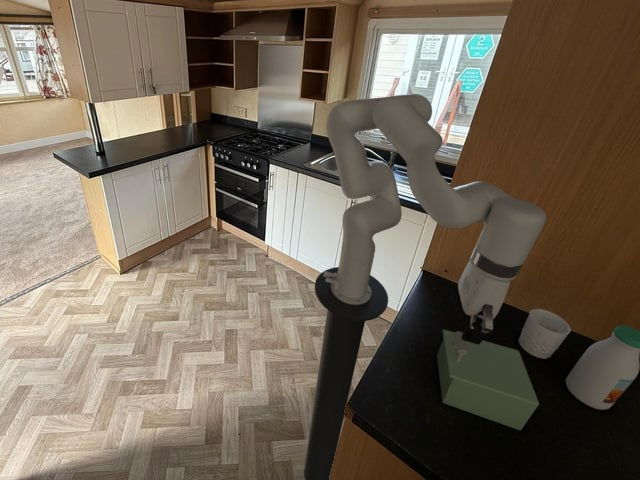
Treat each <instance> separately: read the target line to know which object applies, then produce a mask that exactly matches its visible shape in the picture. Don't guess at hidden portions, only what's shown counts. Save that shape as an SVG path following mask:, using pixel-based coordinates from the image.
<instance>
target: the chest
mask: <svg viewBox="0 0 640 480" xmlns="http://www.w3.org/2000/svg"><path fill="white" fill-rule="evenodd" d="M436 361H437V368H438V369H437V370H438V376H439V377H438V378H439V386H440V394H441V402H442V404H445V405H448V406H451V407H453V408H456V409H459V410H461V411H463V412H464V411H465V412H467V413H470V414H473V415H475V416H478V417H481V418H484V419H487V420H489V421H492V422H495V423H497V424H501V425H503V426H505V427H509V428H512V429H514V430H516V431H520V432H521V431H522V430H523V428H524V426H525V425H526V424H527V423H528V421H529V419H530V418H531V416H532V415H533V413H534V412H535V411H536V409H537V408H538V406H537V405H534V404H531V403H528V402H525V401H522V400H519V399H516V398H513V397H510V396H506V395H503V394H500V393H497V392H494V391H491V390H488V389H485V388H482V387H479V386H476V385H473V384H470V383H467V382H464V381H461V380H458V379H455V378H452V377H449V371H448V364H447V357H446V351H445V344H444V338H443V339H442V342H441V344H440V346H439V349H438V352H437V353H436Z"/></svg>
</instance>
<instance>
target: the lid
mask: <svg viewBox="0 0 640 480" xmlns="http://www.w3.org/2000/svg"><path fill="white" fill-rule="evenodd" d="M442 335H443V336H442V338H443V339H444V344H445V351H446V357H447V364H448V371H449V377H452V378H455V379H458V380H461V381H464V382H467V383H470V384H473V385H476V386H479V387H482V388H485V389H488V390H491V391H494V392H497V393H500V394H503V395H506V396H510V397H513V398H516V399H519V400H522V401H525V402H528V403H531V404H534V405H537V407H538V406H539V405H540V403H539V400H538V397H537V395H536V392H535V389H534V387H533V384H532V382H531V379H530V377H529V374H528V371H527V369H526V365H525V363H524V361H523V358H522V355H521V353H520V351H519V350H518V349H514V348H511V347H508V346H504V345H500V344H497V343H493V342H489V341H486V340H482V342H481V343H480V345H477V344H474V343H471V342H467V341H464V340H462V335H463V331H461V330H460V331H459V330H458V331H455V332H454V331H451V330H447V329H445V328H444V329H442Z"/></svg>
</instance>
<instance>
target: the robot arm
mask: <svg viewBox="0 0 640 480" xmlns="http://www.w3.org/2000/svg"><path fill="white" fill-rule="evenodd" d="M432 116H433V106H432V104H431V102H430V100H429V99H428V98H427V97H425V96H424V95H422V94H419V93H407V94H397V95H396V94H395V95H390V96H383V97H371V98H362V99H361V98H359V99H350V100H346V101H342V102H340V103H338V104H337V105H336V104H335V106H333V107H332V108H331V110H330V111H329V113H328V116H327V118H326V123H325V124H326V125H325V126H326V134H327V138H328V140H329V141H328V142H329V143H330V146H331V149H332V151H333V154H334V158H335V164H336V168H337V169H336V170H337V174H338V178H339V184H340V187H341V191H342V193H343V195H344V196H345V197H346V198H348V199H350V200H357V199H362V198H367V197H370V198H371V199H370V200H365V201H361V202H359V203H356V204H352V205H350V206H349V207H347V209H346V210H344V212H343V214H342V241H341V251H340V256H339V263H338V267H339V269H338V271H337V273H334V274H333V273H330V272H327V271H325V270H324V271H323V272H324V274H323V277H326V281H325V282H330V283H331V290H332V293H333V294H334V295H335V296H336V297H337V298H338V299H339V300H341V301H343V302H345V303H348V304H352V305H360V304H364V303H366V302H368V301H369V300H370V298H371V293H372V291H371V288H370V286H369V285H368V282H369V278H370V275H371V273H372V268H373V265H374V259H375V253H376V243H375V242H374V236H375V235H376V234H379V233H381V232H384V231H387V230H389V229H393V228H395V227H396V226H397V225H399V224H400V223H401V220H402V215H403V214H402V213H403V212H402V204H401V201H400V195H399V191H398V184H397V180H396V176H395V173H394V171H393V170H392V168H391V167H390V165H388V164H387V163H385V162H384V161H380V160H374V161H369V160H368V155H367V150H366V147H365V145H364V143H363V142H362V141H361V139H360V138H359V137H358V136H357V135H356V134H357V133H359V132H367V131H373V130H379V131H380V133H381V134H382V135H383V136H384V137H385V139H386V140H387V141H388V142H389V144H391V146H392V147H393V148H394V149H395V150H396V151H397V153H398V154H399V155H400V157H401V158H402V159H403V160H404V162H405V163H406V175H407V176H406V177H407V181H408V185H409V189H410V190H411V191H410V192H411V193H412V195H413V197H414V199H415V200H416V202H418V204H419V205H420V206H421V207H422V209H423V210H424V211H425V212H426V214H427V215H428V216H429V217H430V218H431V219H432V220H433V221H434V222H435V223H436V224H438V225H440V226H441V227H442V228H443V227H444V228H446V229H448V230H449V229H450V230H459V229H463V228H466V227H468V226H472V225H474V224H476V223H483V224H484V225H483V228H482V229H481V232H480V235H479V237H478V239H477V242H476V244H475V247H474V249H473V251H472V253H471V255H470V258H469V261H468V262H467V264H466V266H465V267H464V270H463V272H462V274H461V276H460V278H459V280H458V282H457V289H458V294H457V296H456V297H455V300H454V305H455V307H460V308H462V310H463V312H464V314H465V315H467V316H470V320H469V323H468V324H466V326H465V328H464V331H462V333H463V335H462V340H464V341H467V342H471V343H474V344H477V345H480V343H481V342H482V340H483V339H484V338H485V336H486V335H489V334H490V333H491V332H493V331H494V319H495V318H496V317H497V316H498V314H499V312H500V310H501V308H502V306H503V304H504V301H505V298H506V296H507V293H508V292H509V288H510V285H511V281H513V280H515V279H516V278H517V277H518V275H519V273H520V271H521V270H522V267H523V266H524V264H525V261H526V260H527V258H528V256H529V254H530V252H531V250H532V249H533V247H534V245H535V243H536V241H537V239H538V237H539V236H540V233H542V230H543V228H544V226H545V224H546V221H547V214H546V211H544V210H543V209H542V208H541V207H540V206H538V205H537V204H534V203H532V202H529V201H527V200H523V199H519V198H516V197H514V196H512V195H510V194H509V193H507V192H505V191H504V190H502V189H500V188H499V187H497V186H496V185H493V184H492V183H489V182H486V181H473V182H470V183H466V184H462V185H459V186H455V187H452V186H451V184H450V183H449V182H448V181H447V180H446V179H445V178H444V176H443V175H442V174H441V172H440V171H439V169H438V166H437V164H436V160H435V159H436V154H437V153H438V152H439V150H440V149H441V148H442V146H443V143H444V140H443V137H442V135H441V134H440V133H439V132H438V131H437V130H436V129H435V128H434V127H433V125H431V124H430V123H429V122H430V121H431V119H432ZM330 278H332V279H330ZM480 312H481V313H482V314H479V313H480ZM477 318H478V319H482V322H481V323H480V324H478V323H477V324H476V322H477V321H476V320H477ZM483 341H484V340H483Z"/></svg>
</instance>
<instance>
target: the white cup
mask: <svg viewBox="0 0 640 480" xmlns="http://www.w3.org/2000/svg"><path fill="white" fill-rule="evenodd" d="M525 320H526V321H525V322H524V325H523V328H522V330H521V333H520V336H519V337H518V343H519V346H520V347H521V348H522V349H523V350H524V351H525V352H527V353H528V354H530V355H531V356H534V357H535V358H537V359H543V360H547V359H549V358H551V356H552V355H553V354H554V353H555V351H557V350H558V349H559V347H560V346H561V345H562V344H563V342H564V341H565V340H566V338H567V337H568V336H569V335H570V333H571V331H572V328H571V326H570V324H569V323H568V322H567V321H566V320H565V319H564V318H562V317H561V316H559V315H558V314H557V313H554V312H552V311H549V310H546V309H542V308H534V309H533V308H532V309H531V310H530V311H529V314H528V316H527V318H526V319H525Z"/></svg>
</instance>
